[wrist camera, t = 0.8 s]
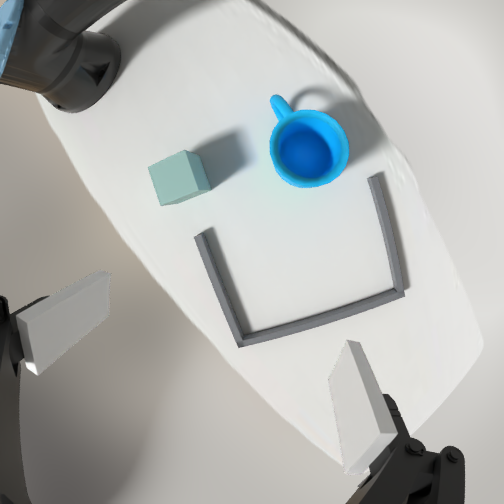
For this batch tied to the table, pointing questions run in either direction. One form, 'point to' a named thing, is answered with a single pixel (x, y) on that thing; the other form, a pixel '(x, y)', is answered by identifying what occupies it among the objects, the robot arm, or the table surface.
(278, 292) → the table surface
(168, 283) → the table surface
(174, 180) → the block
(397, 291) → the tray frame
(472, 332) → the table surface
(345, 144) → the mug
